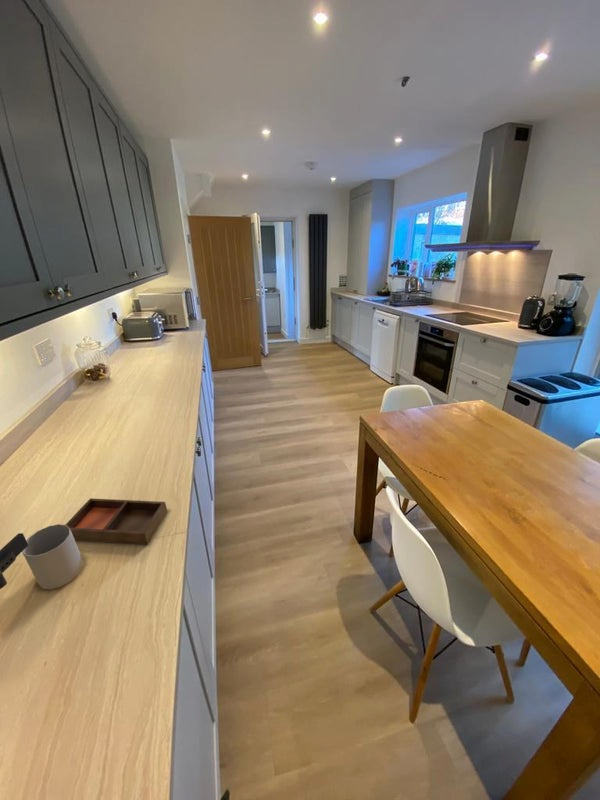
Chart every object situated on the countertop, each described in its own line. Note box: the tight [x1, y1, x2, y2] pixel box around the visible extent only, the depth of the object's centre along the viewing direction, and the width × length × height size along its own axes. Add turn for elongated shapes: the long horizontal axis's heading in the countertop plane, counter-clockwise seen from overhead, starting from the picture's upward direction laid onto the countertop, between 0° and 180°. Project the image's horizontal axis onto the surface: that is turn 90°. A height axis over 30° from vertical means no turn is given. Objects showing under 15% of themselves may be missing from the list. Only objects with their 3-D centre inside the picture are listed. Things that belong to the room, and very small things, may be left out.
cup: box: [21, 523, 84, 590], centre depth 70 cm, size 8×8×10 cm
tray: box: [64, 497, 168, 545], centre depth 84 cm, size 21×11×4 cm, turn 86°
